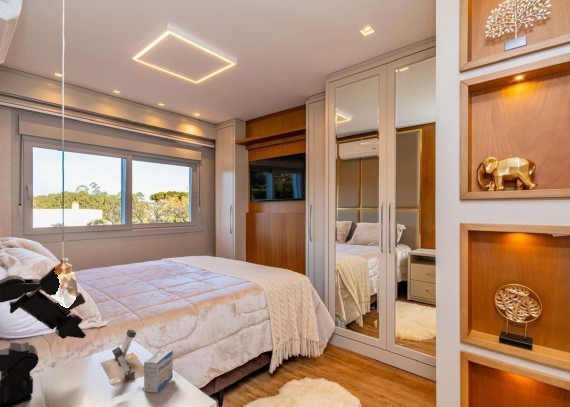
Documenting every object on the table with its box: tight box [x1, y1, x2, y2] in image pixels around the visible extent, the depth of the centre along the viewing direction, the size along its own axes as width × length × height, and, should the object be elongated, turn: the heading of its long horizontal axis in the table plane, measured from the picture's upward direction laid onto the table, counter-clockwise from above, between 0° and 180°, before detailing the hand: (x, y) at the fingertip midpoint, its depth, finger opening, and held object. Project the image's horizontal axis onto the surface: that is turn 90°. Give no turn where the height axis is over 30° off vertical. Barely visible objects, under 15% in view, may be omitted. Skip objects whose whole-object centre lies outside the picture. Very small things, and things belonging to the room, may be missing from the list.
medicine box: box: [143, 349, 174, 394], centre depth 87 cm, size 8×4×9 cm, turn 168°
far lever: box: [120, 329, 137, 358], centre depth 99 cm, size 2×3×9 cm, turn 43°
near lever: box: [111, 346, 131, 377], centre depth 88 cm, size 2×3×9 cm, turn 44°
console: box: [100, 352, 144, 388], centre depth 93 cm, size 10×18×4 cm, turn 43°
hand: (84, 336), depth 92 cm, fingers closed
